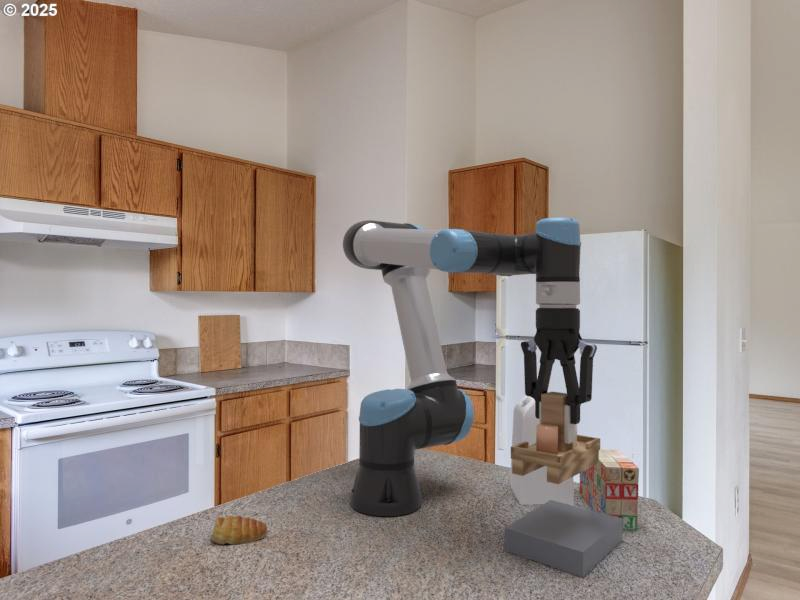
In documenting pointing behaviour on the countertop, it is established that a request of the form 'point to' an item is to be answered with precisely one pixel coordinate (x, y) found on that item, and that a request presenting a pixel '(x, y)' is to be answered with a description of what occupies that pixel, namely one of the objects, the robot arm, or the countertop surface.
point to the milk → (535, 483)
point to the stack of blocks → (612, 487)
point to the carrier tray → (556, 461)
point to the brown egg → (547, 438)
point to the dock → (564, 536)
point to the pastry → (238, 530)
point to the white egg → (575, 436)
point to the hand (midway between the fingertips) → (557, 439)
